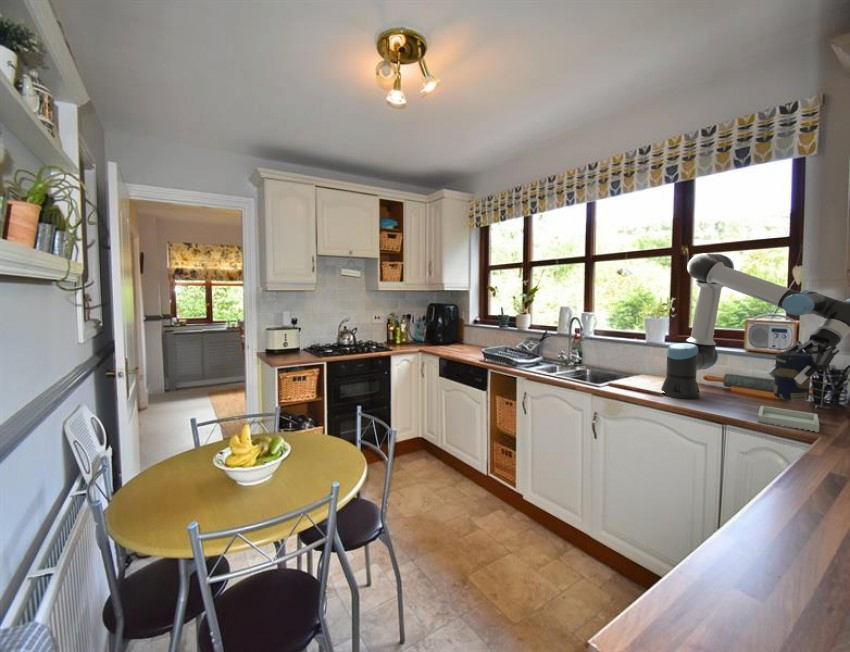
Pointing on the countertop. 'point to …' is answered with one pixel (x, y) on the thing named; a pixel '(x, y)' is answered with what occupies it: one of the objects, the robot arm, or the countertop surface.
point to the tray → (789, 418)
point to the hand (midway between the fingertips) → (783, 378)
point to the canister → (791, 376)
